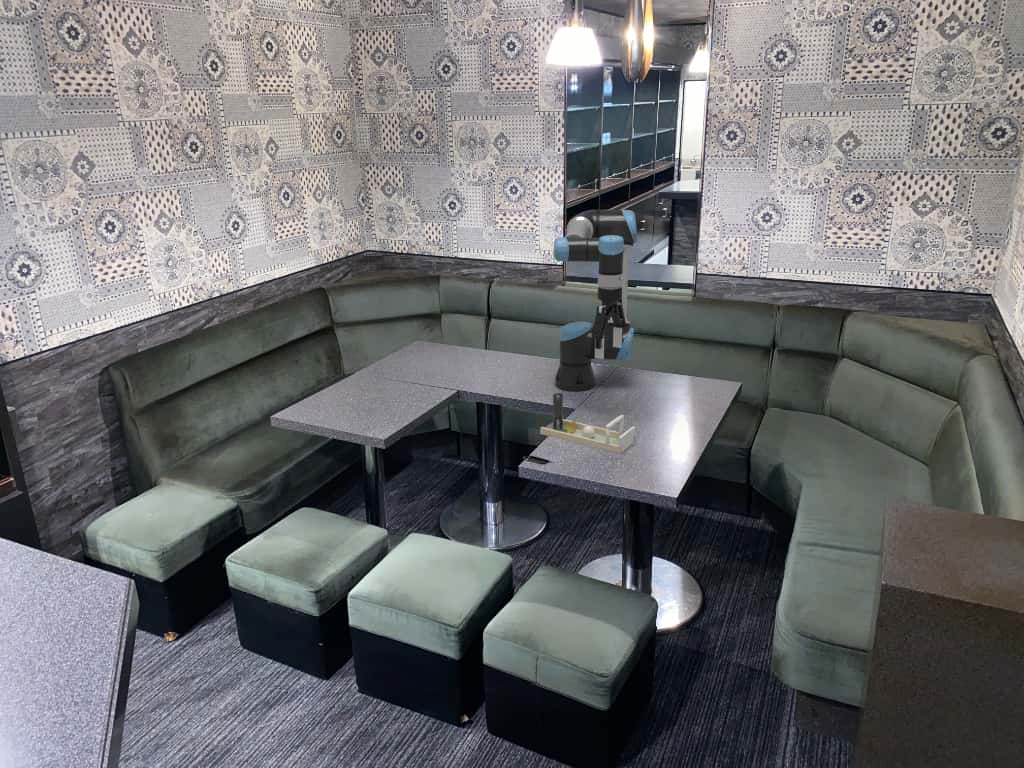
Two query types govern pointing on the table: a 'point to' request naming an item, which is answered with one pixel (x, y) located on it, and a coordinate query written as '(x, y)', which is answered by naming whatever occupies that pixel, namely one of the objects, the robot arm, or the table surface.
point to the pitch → (597, 436)
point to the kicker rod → (560, 416)
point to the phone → (535, 459)
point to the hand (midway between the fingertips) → (608, 352)
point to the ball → (588, 431)
